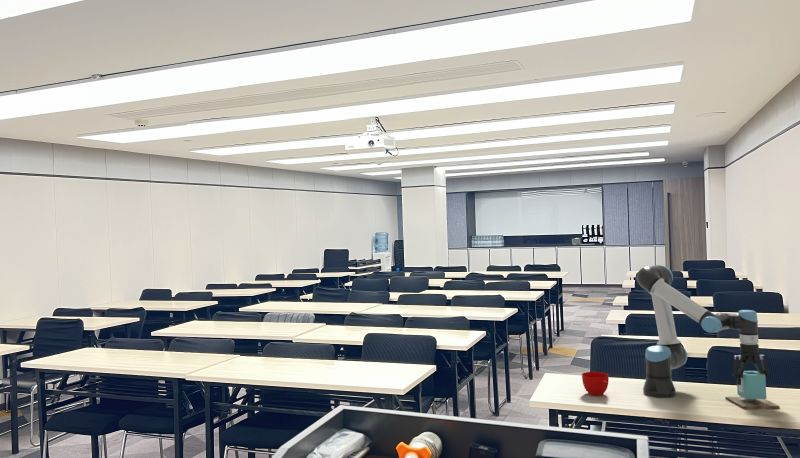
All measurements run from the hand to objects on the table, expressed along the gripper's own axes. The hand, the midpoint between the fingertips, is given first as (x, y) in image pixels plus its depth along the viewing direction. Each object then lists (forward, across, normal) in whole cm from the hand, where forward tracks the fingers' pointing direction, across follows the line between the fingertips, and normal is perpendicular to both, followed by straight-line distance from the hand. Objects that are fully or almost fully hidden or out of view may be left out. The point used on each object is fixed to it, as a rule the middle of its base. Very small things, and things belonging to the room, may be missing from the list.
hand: (751, 391), depth 266 cm
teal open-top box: (+2, 0, 0) cm, 2 cm away
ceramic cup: (+6, -66, +18) cm, 69 cm away
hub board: (+6, 0, 0) cm, 6 cm away
